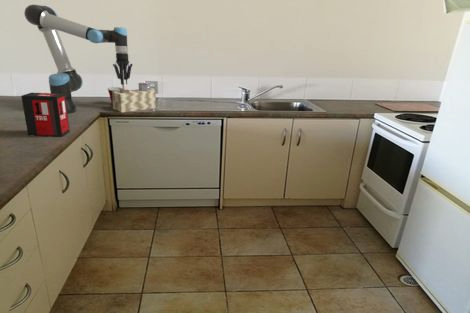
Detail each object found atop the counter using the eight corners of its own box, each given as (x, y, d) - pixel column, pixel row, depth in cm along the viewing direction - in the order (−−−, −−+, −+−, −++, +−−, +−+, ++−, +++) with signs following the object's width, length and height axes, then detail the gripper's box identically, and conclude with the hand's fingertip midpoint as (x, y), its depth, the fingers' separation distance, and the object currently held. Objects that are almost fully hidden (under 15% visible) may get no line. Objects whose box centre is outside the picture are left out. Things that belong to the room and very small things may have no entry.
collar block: (121, 112, 221) (120, 94, 217) (113, 109, 229) (111, 91, 225) (155, 108, 238) (155, 91, 234) (147, 105, 246) (146, 88, 242)
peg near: (123, 104, 224) (122, 90, 221) (120, 102, 227) (119, 89, 224) (129, 103, 227) (129, 90, 224) (126, 102, 230) (125, 89, 227)
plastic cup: (114, 107, 235) (113, 89, 231) (105, 104, 241) (104, 87, 237) (127, 105, 243) (126, 88, 239) (118, 102, 249) (117, 86, 245)
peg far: (142, 97, 233) (141, 83, 229) (139, 96, 235) (138, 83, 232) (147, 96, 235) (147, 83, 232) (144, 95, 238) (144, 82, 235)
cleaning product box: (28, 135, 166) (21, 95, 159) (37, 130, 175) (31, 92, 168) (62, 137, 167) (56, 97, 160) (69, 132, 175) (64, 93, 168)
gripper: (114, 53, 209) (117, 91, 217) (134, 53, 218) (136, 89, 226) (109, 52, 214) (112, 89, 222) (128, 52, 223) (130, 87, 231)
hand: (124, 89), depth 224 cm, fingers closed
